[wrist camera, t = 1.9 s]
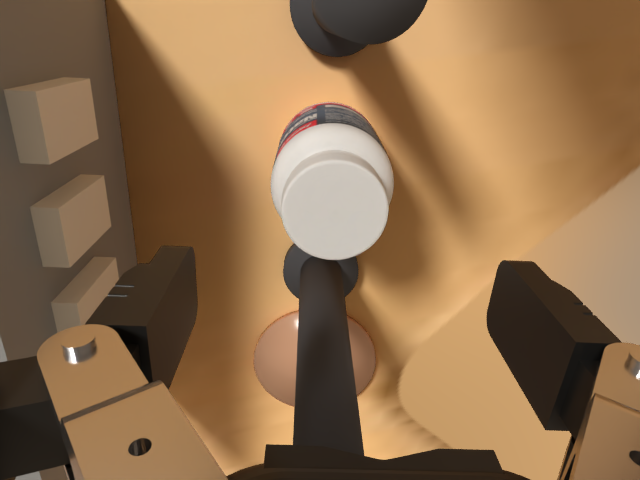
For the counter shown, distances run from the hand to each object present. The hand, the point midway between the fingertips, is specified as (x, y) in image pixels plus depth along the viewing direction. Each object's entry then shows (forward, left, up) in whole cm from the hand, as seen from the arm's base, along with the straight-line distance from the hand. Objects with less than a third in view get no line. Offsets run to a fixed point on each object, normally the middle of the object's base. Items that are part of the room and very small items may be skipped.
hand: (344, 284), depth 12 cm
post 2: (+7, 0, -14) cm, 16 cm away
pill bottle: (0, 0, -14) cm, 14 cm away
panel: (+3, -11, -14) cm, 18 cm away
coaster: (+14, 0, -14) cm, 20 cm away
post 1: (-7, 0, -14) cm, 16 cm away
